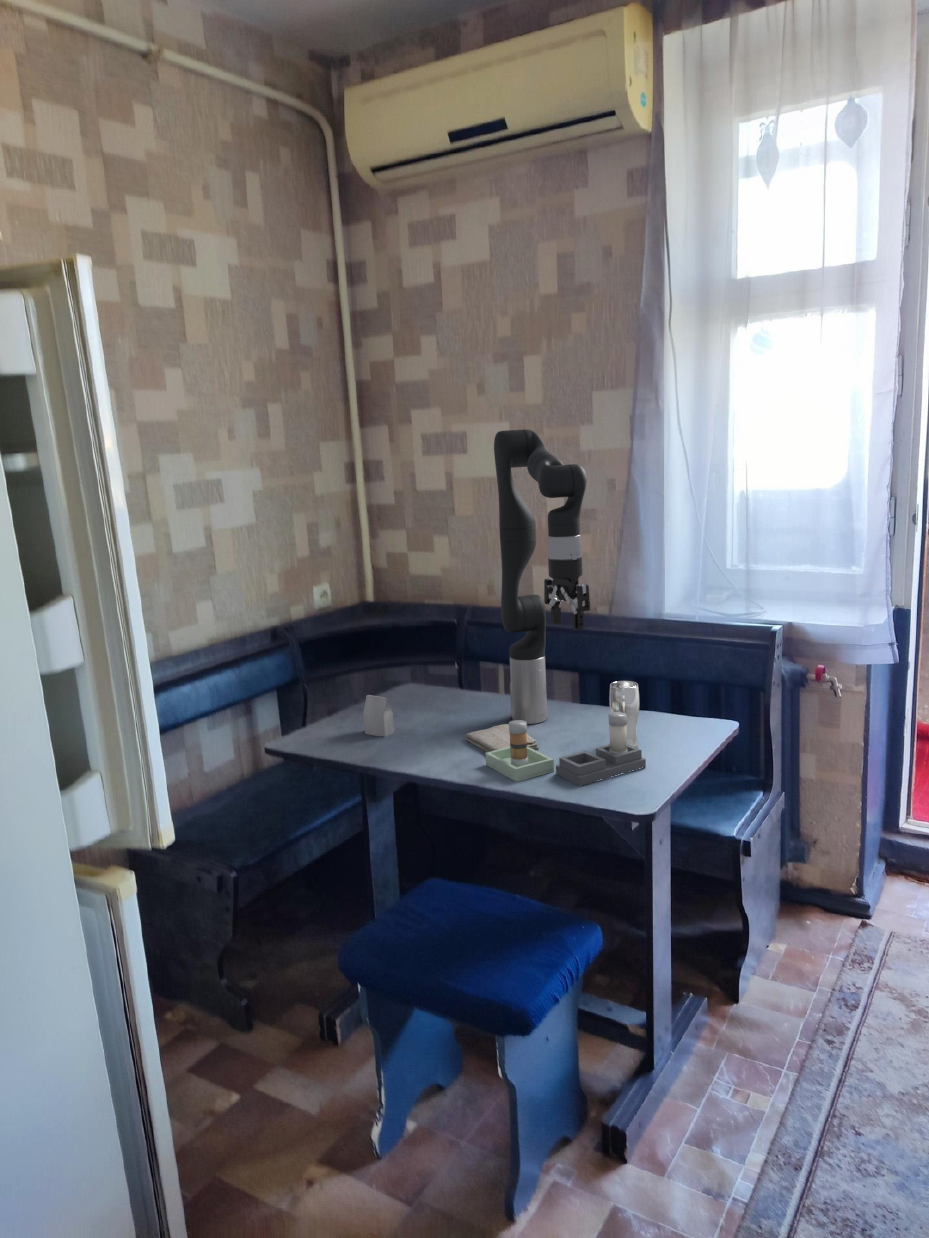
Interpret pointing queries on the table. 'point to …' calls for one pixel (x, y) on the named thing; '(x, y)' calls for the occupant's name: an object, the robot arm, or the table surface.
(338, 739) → the table surface
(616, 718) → the fuse
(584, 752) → the fuse block
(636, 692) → the beer glass
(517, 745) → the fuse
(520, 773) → the parts tray
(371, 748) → the table surface
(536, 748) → the washcloth
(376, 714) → the tea bag
